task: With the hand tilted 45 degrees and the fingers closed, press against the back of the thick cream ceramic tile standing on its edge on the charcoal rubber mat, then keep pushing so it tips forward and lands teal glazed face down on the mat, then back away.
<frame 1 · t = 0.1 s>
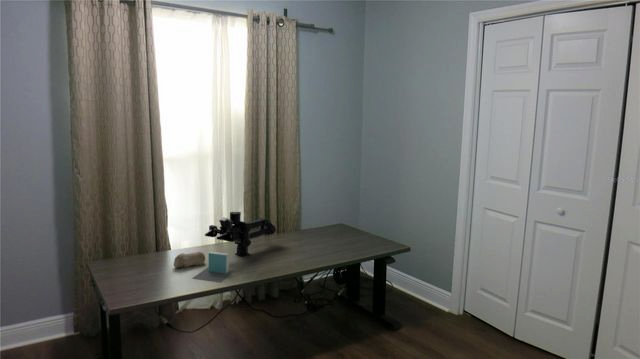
hand: (210, 236, 244), 17 cm above the table, fingers open, 9 cm apart
mat: (214, 275, 233), on the table
sculpture: (189, 266, 245), on the table
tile: (218, 271, 237), resting on mat
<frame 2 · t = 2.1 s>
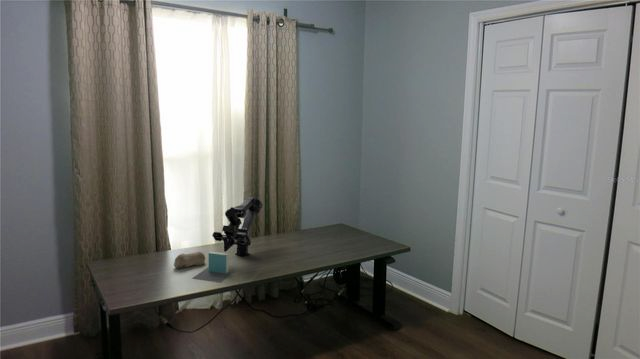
hand: (224, 251, 243), 9 cm above the table, fingers closed
nothing on the table moved.
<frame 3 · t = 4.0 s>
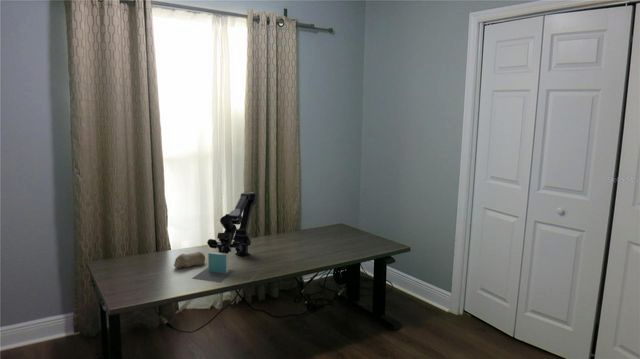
hand: (219, 259, 238), 7 cm above the table, fingers closed, pressing on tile
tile: (218, 271, 237), point 1 cm above the table, touching gripper, mat
everything else where it was.
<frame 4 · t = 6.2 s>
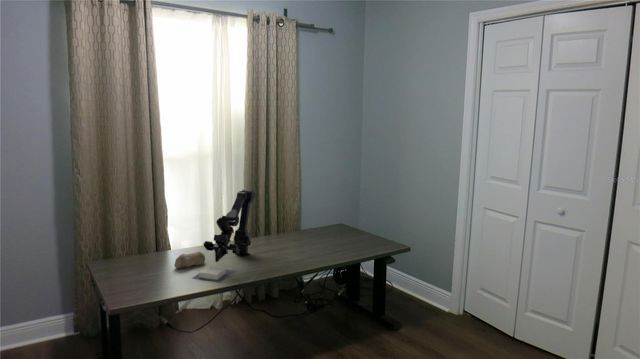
hand: (216, 261, 234), 7 cm above the table, fingers closed
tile: (217, 269, 235), point 2 cm above the table, tilted 90°, touching mat
everything else where it was.
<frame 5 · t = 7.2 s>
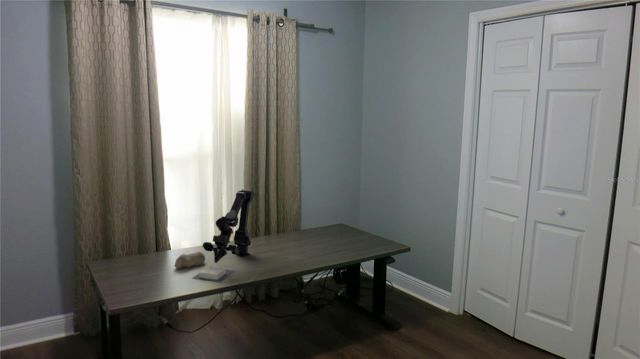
hand: (215, 262, 233), 7 cm above the table, fingers closed
nothing on the table moved.
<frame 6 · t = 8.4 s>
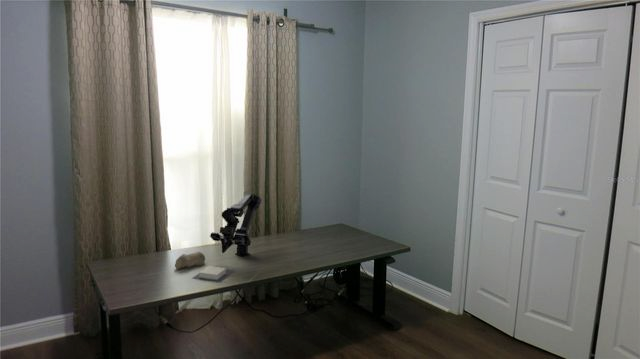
hand: (222, 252, 242), 9 cm above the table, fingers closed
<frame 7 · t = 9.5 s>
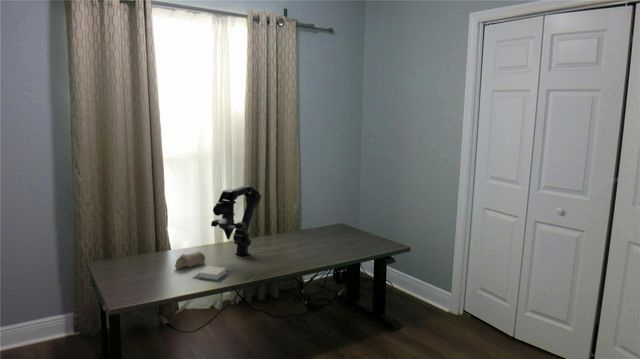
hand: (228, 239, 253), 13 cm above the table, fingers closed
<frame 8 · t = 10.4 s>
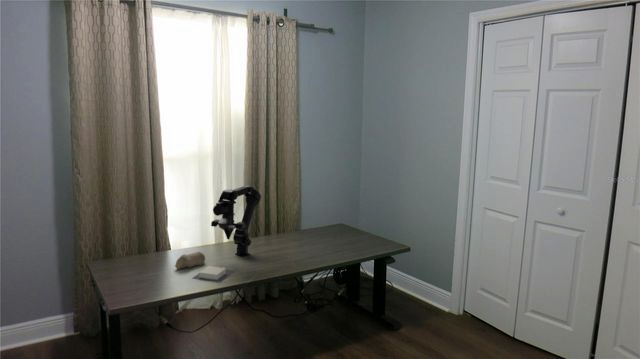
hand: (228, 239, 253), 13 cm above the table, fingers closed
nothing on the table moved.
at the end: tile tilted 90°; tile touching mat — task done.
